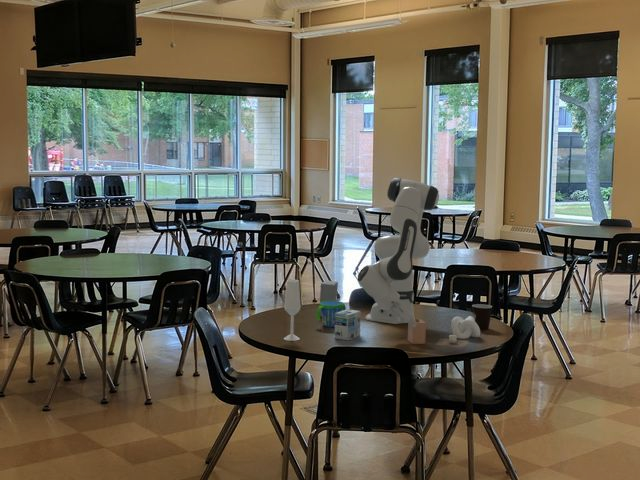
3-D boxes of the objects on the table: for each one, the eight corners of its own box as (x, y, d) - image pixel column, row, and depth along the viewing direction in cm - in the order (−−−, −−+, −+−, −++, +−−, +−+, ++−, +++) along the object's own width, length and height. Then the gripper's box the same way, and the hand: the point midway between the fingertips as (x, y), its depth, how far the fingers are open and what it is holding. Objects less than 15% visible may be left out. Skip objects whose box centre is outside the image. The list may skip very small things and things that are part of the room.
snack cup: (322, 329, 359) (323, 306, 358) (309, 325, 368) (310, 302, 367) (352, 326, 368) (353, 303, 367) (338, 321, 377) (339, 299, 375)
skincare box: (323, 313, 394) (323, 280, 393) (337, 314, 392) (338, 281, 391) (318, 316, 386) (318, 282, 384) (333, 317, 384) (334, 283, 383)
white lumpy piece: (459, 342, 342) (460, 321, 341) (443, 336, 353) (444, 315, 352) (482, 340, 346) (483, 319, 345) (466, 334, 357) (467, 313, 356)
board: (434, 347, 333) (435, 344, 333) (440, 340, 345) (440, 338, 344) (465, 350, 329) (465, 347, 329) (469, 343, 341) (470, 341, 341)
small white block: (448, 343, 336) (448, 336, 336) (449, 341, 339) (449, 334, 338) (455, 344, 335) (456, 336, 335) (457, 342, 338) (457, 335, 337)
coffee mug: (491, 331, 364) (492, 308, 363) (470, 329, 366) (471, 307, 365) (491, 325, 376) (492, 303, 374) (471, 324, 377) (472, 302, 376)
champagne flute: (284, 336, 346) (285, 278, 343) (301, 337, 345) (302, 279, 342) (282, 340, 339) (283, 281, 336) (298, 340, 338) (300, 282, 336)
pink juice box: (412, 345, 334) (413, 320, 333) (407, 341, 340) (408, 317, 339) (425, 344, 335) (426, 320, 334) (420, 341, 341) (421, 316, 340)
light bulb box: (347, 340, 341) (348, 314, 339) (333, 338, 344) (334, 312, 343) (360, 336, 350) (361, 310, 348) (346, 333, 353) (347, 308, 352)
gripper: (402, 298, 323) (425, 323, 326) (387, 289, 343) (409, 312, 346) (390, 310, 323) (414, 334, 326) (376, 300, 343) (399, 323, 346)
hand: (411, 323), depth 336 cm, fingers open, 8 cm apart
